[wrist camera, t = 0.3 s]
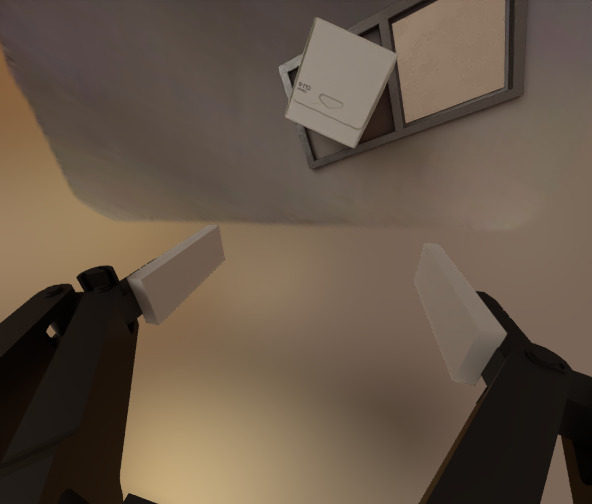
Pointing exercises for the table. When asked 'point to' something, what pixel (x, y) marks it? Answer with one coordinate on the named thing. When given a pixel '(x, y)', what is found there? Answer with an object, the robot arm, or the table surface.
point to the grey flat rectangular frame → (439, 62)
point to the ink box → (339, 83)
